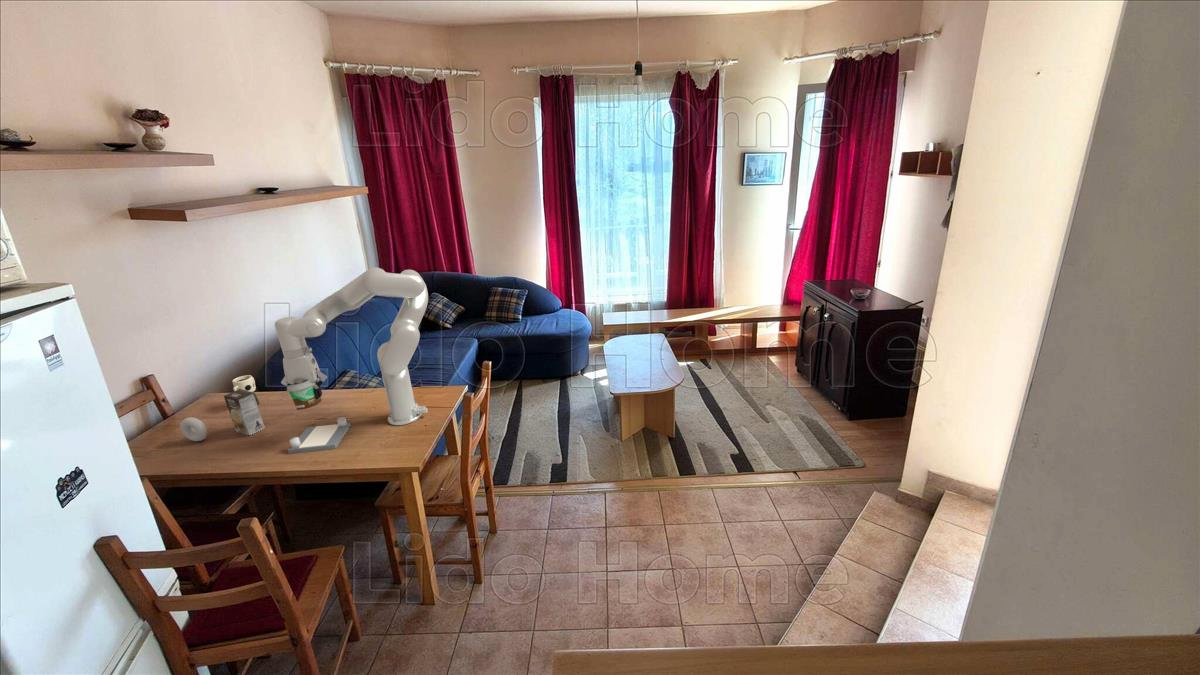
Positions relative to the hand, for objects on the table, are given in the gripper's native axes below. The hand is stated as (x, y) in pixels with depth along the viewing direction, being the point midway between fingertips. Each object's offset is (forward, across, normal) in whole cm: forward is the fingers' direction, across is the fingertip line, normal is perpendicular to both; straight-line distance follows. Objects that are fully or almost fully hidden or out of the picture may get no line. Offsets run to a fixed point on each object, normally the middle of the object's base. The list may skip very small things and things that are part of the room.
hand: (309, 398), depth 179 cm
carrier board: (+17, 0, 0) cm, 17 cm away
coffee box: (+17, +32, -14) cm, 39 cm away
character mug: (+17, +44, -38) cm, 61 cm away
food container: (+3, -1, 0) cm, 3 cm away
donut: (+17, +49, -10) cm, 53 cm away
